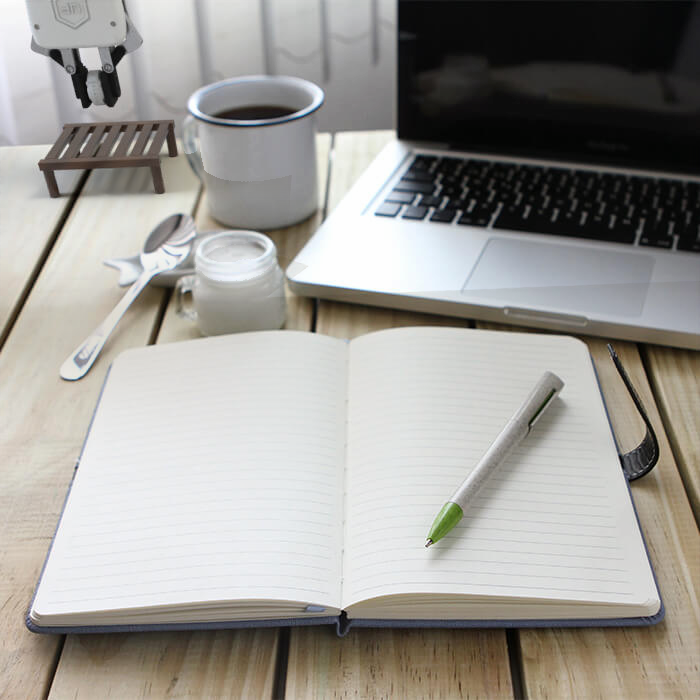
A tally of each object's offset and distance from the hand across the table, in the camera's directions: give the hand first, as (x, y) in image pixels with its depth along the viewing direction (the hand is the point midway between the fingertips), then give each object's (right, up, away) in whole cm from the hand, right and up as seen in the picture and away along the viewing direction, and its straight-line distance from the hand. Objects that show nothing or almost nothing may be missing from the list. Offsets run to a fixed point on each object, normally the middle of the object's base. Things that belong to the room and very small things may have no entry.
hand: (100, 102), depth 93 cm
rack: (0, -7, +6) cm, 9 cm away
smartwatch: (0, 0, 0) cm, 0 cm away
